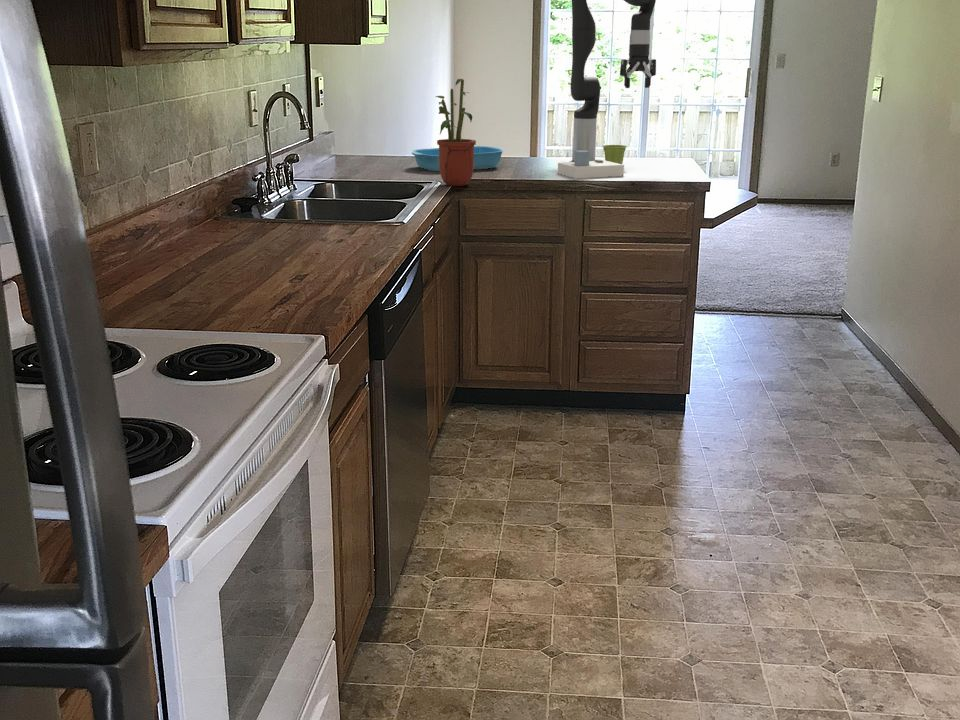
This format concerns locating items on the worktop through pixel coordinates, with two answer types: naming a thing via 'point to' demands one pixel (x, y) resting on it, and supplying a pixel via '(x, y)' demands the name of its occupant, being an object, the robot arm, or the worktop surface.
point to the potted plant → (455, 146)
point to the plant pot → (614, 153)
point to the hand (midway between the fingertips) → (637, 87)
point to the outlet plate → (591, 169)
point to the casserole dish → (482, 157)
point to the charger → (581, 158)
